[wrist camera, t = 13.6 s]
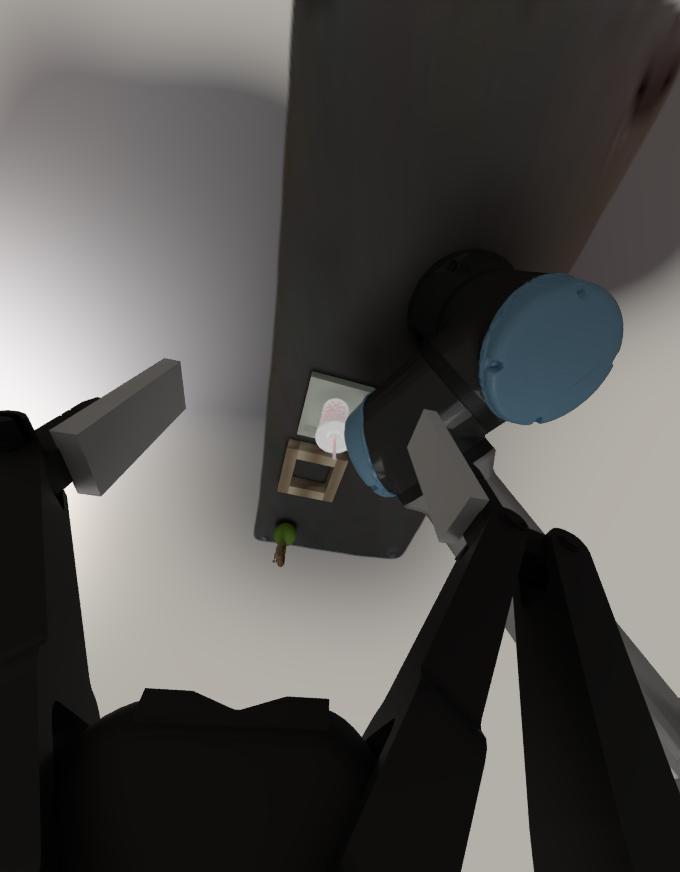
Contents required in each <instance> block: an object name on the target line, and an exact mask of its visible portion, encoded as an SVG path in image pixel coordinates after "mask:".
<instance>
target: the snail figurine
mask: <svg viewBox="0 0 680 872" xmlns="http://www.w3.org/2000/svg"><path fill="white" fill-rule="evenodd" d="M295 539H296V529H295V527H294V526H293V525H292V524H290V523H282V524H280V525H278V526H277V528H276V529H275V531H274V540H275V542H276V543H277V544H278V545H277V548H276V553H275V555H274V557H275V558H274V559H277V560H276V563H277V564H278V566H280V567H282V566H283V565H284V561H285V552H286V546H289V545H291V544H292V543H293V542H294V541H295ZM274 562H275V560H273V563H274Z"/></svg>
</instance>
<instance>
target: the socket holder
mask: <svg viewBox="0 0 680 872" xmlns="http://www.w3.org/2000/svg"><path fill="white" fill-rule="evenodd" d="M296 459H299V460H303V461H308V462H313V463H317V464H322V465H326V466H331V469H330V472H329V475H328V477H327V480H326V483H321V482H316V481H311V480H306V479H302V478H297V477H292V474H293V470H294V466H295V463H296ZM347 463H348V452H346V451H344V452H342V453H336V459H335V460H333V454H332V453H329V452H325V451H324V450H322V449H321V448H319V446H318V445H315V444H311V443H307V442H302V441H298V440H294V439H289V443H288V446H287V451H286V455H285V459H284V464H283V468H282V473H281V477H280V481H279V486H278V490H277V491H278V492H283V493H288V494H293V495H298V496H303V497H308V498H313V499H318V500H323V501H328V502H332V501H333V498H334V496H335V493H336V491H337V488H338V486H339V483H340V481H341V478H342V476H343V473H344V471H345V468H346V466H347Z"/></svg>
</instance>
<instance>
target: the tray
mask: <svg viewBox="0 0 680 872" xmlns="http://www.w3.org/2000/svg"><path fill="white" fill-rule="evenodd" d="M375 389H376V388H373V387H369V386H366V385H362V384H358V383H355V382H351V381H348V380H344V379H340V378H337V377H333V376H329V375H326V374H322V373H318V372H315V371H312V375H311V379H310V383H309V387H308V391H307V395H306V399H305V404H304V408H303V412H302V416H301V420H300V424H299V428H298V432H297V434H299V435H303V436H308V437H312V438H315V434H316V430H317V427H318V426H319V423H320V419H321V415H322V410H323V407H324V404H325V403H326V402H327V401H328V400H330V399H336V398H337V399H341V400H343V401H344V402H345V403H346V404H347V406H348V410H349V415H350V413H351V412H352V411H353V410H354V409H355V408H356V407H357V406H358V405H359V404H360V403H361V402H362V401H363V399H364V398H365V396H367V395H368V394H369V393H372V392H373V391H374V390H375Z"/></svg>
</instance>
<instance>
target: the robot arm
mask: <svg viewBox="0 0 680 872" xmlns="http://www.w3.org/2000/svg"><path fill="white" fill-rule="evenodd" d="M408 328H409V332H410V335H411V338H412V340H413V342H414V343H415V345H416V346H417V348H418V349H419V350H420V351H418V352H417V353H416V354H415V355H414V356H413V357H411V358H410V359H409V360H408V361H407V362H406V363H405V364H404V365H403V366H401V367H400V368H399V369H398V370H397V371H396V372H395V373H394V374H392V375H391V376H390V377H389V378H388V379H387V380H386V381H385V382H383V383H382V384H381V385H380V386H379V387H378V388H376V389H375V390H374V391H373V392H372V393H369V394H368V395H367V396H365V398H364V399H363V401H362V402H361V403H360V404H359V405H358V406H357V407H356V408H355V409H354V410H353V411H352V412H351V413H350V415H349V416H348V417H347V420H346V422H345V431H344V438H345V444H346V448H347V451H348V454H349V456H350V459H351V461H352V463H353V465H354V467H355V469H356V470H357V472H358V474H359V475H360V477H361V478H362V479H363V481H364V482H365V483H366V484H367V485H368V486H371V487H372V489H373V491H374V492H375V493H377V494H378V495H380V496H383V497H394V496H396V495H397V497H398V498H399V499H400V501H401V502H402V504H403V505H404V507H405V508H408V509H412V510H416V511H420V512H422V513H424V514H426V515H427V517H428V518H429V519H430V521H431V522H432V524H433V525H434V528H435V531H436V534H437V537H438V540H439V542H443V543H447V545H448V547H450V549H451V551H452V552H453V554H454V555H455V557H456V558H455V560H456V563H455V565H454V567H453V569H452V570H451V572H450V574H449V576H448V578H447V580H446V582H445V584H444V586H443V588H442V590H441V592H440V594H439V596H438V598H437V600H436V601H435V603H434V605H433V607H432V609H431V611H430V613H429V615H428V617H427V619H426V621H425V623H424V625H423V627H422V629H421V630H420V632H419V634H418V636H417V638H416V640H415V642H414V644H413V646H412V648H411V650H410V652H409V654H408V656H407V658H406V660H405V661H404V663H403V666H402V667H401V669H400V671H399V673H398V675H397V677H396V679H395V681H394V683H393V685H392V687H391V689H390V691H389V692H388V694H387V696H386V698H385V700H384V702H383V703H382V705H381V707H380V708H379V709H378V711H377V712H376V714H375V715H374V717H373V719H372V720H371V722H370V724H369V726H368V727H367V729H366V731H365V733H364V735H363V736H362V737H361V736H360V735H359V733H358V732H357V731H356V730H355V729H354V728H353V727H352V726H351V725H350V724H349V723H348V722H347V721H346V720H345V719H343V718H342V717H340V716H339V715H337V714H336V713H333V712H332V711H329V699H320V698H304V697H283V698H280V699H277V700H273V701H270V702H266V703H263V704H259V705H256V706H252V707H249V708H245V709H242V710H234V709H232V708H229V707H227V706H225V705H223V704H220V703H218V702H216V701H214V700H212V699H210V698H207V697H205V696H203V695H201V694H199V693H196V692H194V691H185V690H168V689H149V688H145V690H144V692H143V695H142V697H141V699H140V701H138V702H134V703H132V704H129V705H127V706H124V707H121V708H119V709H117V710H115V711H113V712H112V713H110V714H108V715H106V716H104V717H102V718H101V719H100V715H99V710H98V706H97V702H96V699H95V696H94V694H93V691H92V688H91V684H90V679H89V672H88V665H87V656H86V648H85V640H84V632H83V624H82V616H81V608H80V600H79V591H78V583H77V575H76V567H75V559H74V551H73V543H72V535H71V526H70V519H69V510H68V502H67V496H66V494H65V492H64V490H63V489H64V488H66V487H67V486H68V485H69V484H70V483H71V482H72V481H73V484H74V486H75V488H76V490H77V492H78V493H80V494H87V495H95V496H102V495H103V494H104V493H105V492H106V491H107V490H108V489H109V488H110V487H111V485H112V484H113V483H114V482H115V481H116V480H117V479H118V478H119V477H120V476H121V475H122V474H123V473H124V472H125V471H126V470H127V469H128V468H129V467H130V466H131V465H132V464H133V463H134V462H135V461H136V459H137V458H138V457H139V456H140V455H141V454H142V453H143V452H144V451H145V450H146V449H147V448H148V447H149V446H150V445H151V444H152V443H153V442H154V441H155V440H156V439H157V438H158V436H160V435H161V434H162V432H163V431H164V430H165V429H166V428H167V427H168V426H169V425H170V424H171V423H172V422H173V421H174V420H175V419H176V418H177V417H178V416H179V415H180V414H181V413H182V412H183V411H184V410H185V409H186V406H185V397H184V389H183V380H182V372H181V365H180V364H181V363H180V361H176V360H171V359H165V358H164V359H163V360H161V361H159V362H158V363H156V364H154V365H153V366H151V367H150V368H148V369H146V370H145V371H143V372H142V373H140V374H139V375H137V376H135V377H134V378H132V379H131V380H129V381H128V382H126V383H124V384H123V385H121V386H120V387H118V388H116V389H115V390H113V391H111V392H110V393H108V394H107V395H105V396H103V397H102V398H98V397H97V398H94V399H91V400H87V401H84V402H81V403H80V404H78V405H76V406H75V407H73V408H72V409H71V410H68V411H66V412H65V413H63V414H62V416H58V417H56V418H55V419H53V420H51V421H50V422H48V423H46V424H45V425H43V426H41V427H40V428H38V429H36V430H34V429H33V427H32V425H31V423H30V421H29V419H28V417H27V416H26V414H24V413H21V412H18V411H9V410H7V411H0V872H461V869H462V864H463V859H464V855H465V850H466V846H467V841H468V837H469V832H470V828H471V823H472V819H473V814H474V810H475V805H476V801H477V796H478V791H479V786H480V782H481V778H482V773H483V769H484V765H485V759H486V751H487V744H486V738H485V736H484V735H483V733H482V731H481V720H482V716H483V712H484V708H485V704H486V700H487V696H488V691H489V688H490V684H491V680H492V676H493V672H494V668H495V664H496V660H497V656H498V652H499V648H500V644H501V640H502V636H503V632H504V629H505V628H506V629H507V631H508V632H509V634H510V635H511V637H512V638H513V639H514V641H515V642H516V647H517V659H518V660H517V661H518V674H519V689H520V703H521V717H522V731H523V744H524V758H525V772H526V787H527V800H528V815H529V828H530V838H531V847H532V856H533V865H534V872H680V698H678V697H677V696H676V695H675V693H674V692H673V691H672V690H671V689H670V687H669V686H668V685H667V684H666V682H664V680H663V679H662V678H661V676H660V675H659V674H658V673H657V671H656V670H655V669H654V668H653V666H652V665H651V664H650V663H649V662H648V660H647V659H646V658H645V657H644V655H643V654H642V653H641V652H640V651H639V649H638V648H637V647H636V646H635V645H634V643H633V642H632V641H631V640H630V638H629V637H628V636H627V635H626V633H625V632H624V631H623V630H622V629H621V627H620V626H619V625H618V624H617V622H616V621H615V618H614V616H613V613H612V610H611V608H610V605H609V603H608V600H607V597H606V594H605V592H604V589H603V586H602V584H601V581H600V578H599V576H598V573H597V571H596V568H595V565H594V562H593V560H592V557H591V554H590V552H589V550H588V549H587V547H586V546H585V545H584V544H583V542H582V541H581V540H580V539H579V538H578V537H576V536H575V535H573V534H571V533H569V532H567V531H566V530H563V529H560V528H553V529H552V530H550V531H549V532H548V533H547V534H546V535H545V534H544V533H543V532H542V530H541V529H540V528H539V527H538V526H537V525H536V523H535V522H534V521H533V519H532V518H531V517H530V516H529V515H528V513H527V512H526V511H525V510H524V508H523V507H522V506H521V505H520V504H519V502H518V501H517V500H516V499H515V497H514V496H513V495H512V494H511V493H510V491H509V490H508V489H507V488H506V487H505V485H504V484H503V483H502V482H501V480H500V479H499V478H498V477H497V475H496V474H495V472H494V470H493V464H494V456H495V451H496V450H495V449H494V447H493V446H492V445H491V444H490V443H489V442H488V440H487V439H486V438H485V435H486V434H487V433H488V432H490V431H491V430H493V429H495V428H496V427H498V426H499V425H501V424H502V423H504V422H505V421H509V422H512V423H516V424H521V425H530V424H532V423H533V422H538V423H540V424H541V423H546V422H549V421H552V420H554V419H557V418H559V417H561V416H564V415H565V414H567V413H569V412H570V411H572V410H574V409H575V408H576V407H578V406H579V405H580V404H582V403H583V402H584V401H586V400H587V399H588V398H589V397H590V396H591V395H592V394H593V393H594V392H595V391H596V390H597V389H598V387H599V386H600V385H601V384H602V382H603V381H604V380H605V378H606V377H607V375H608V374H609V372H610V371H611V369H612V367H613V364H612V363H613V360H614V358H615V356H616V355H617V353H618V352H619V350H620V347H621V343H622V338H623V319H622V314H621V311H620V308H619V306H618V304H617V302H616V300H615V299H614V298H613V297H612V295H611V294H610V293H609V292H608V291H607V290H605V289H604V288H602V287H601V286H599V285H597V284H594V283H591V282H588V281H584V280H581V279H577V278H574V277H573V276H571V275H568V274H563V273H551V274H550V273H539V272H528V271H517V270H515V269H514V268H513V266H512V265H511V264H510V263H509V262H508V261H507V260H506V259H505V258H503V257H502V256H500V255H498V254H496V253H494V252H491V251H487V250H464V251H459V252H456V253H453V254H451V255H449V256H447V257H445V258H443V259H441V260H440V261H439V262H437V263H436V264H435V265H433V266H432V267H431V268H430V269H429V270H428V271H427V272H426V273H425V275H424V276H423V277H422V278H421V280H420V281H419V283H418V285H417V286H416V288H415V290H414V292H413V295H412V297H411V300H410V304H409V309H408Z"/></svg>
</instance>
